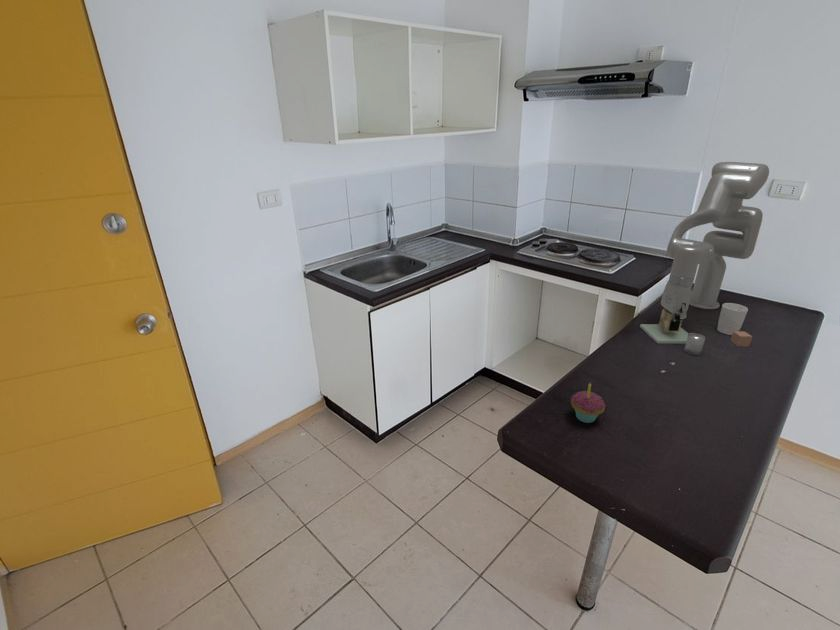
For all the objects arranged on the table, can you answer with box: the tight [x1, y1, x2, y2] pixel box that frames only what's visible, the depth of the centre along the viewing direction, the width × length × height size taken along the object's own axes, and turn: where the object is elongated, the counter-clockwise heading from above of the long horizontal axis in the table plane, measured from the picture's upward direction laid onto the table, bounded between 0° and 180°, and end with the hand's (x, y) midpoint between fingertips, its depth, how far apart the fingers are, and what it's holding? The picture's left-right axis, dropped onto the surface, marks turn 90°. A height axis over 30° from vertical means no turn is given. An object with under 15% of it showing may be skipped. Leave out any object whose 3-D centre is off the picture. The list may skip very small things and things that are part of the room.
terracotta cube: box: [730, 330, 753, 348], centre depth 155 cm, size 4×4×4 cm
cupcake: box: [570, 382, 606, 424], centre depth 115 cm, size 9×8×12 cm
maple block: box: [658, 308, 683, 332], centre depth 160 cm, size 5×5×7 cm
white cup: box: [716, 302, 749, 336], centre depth 163 cm, size 8×8×10 cm
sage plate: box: [639, 323, 689, 345], centre depth 163 cm, size 14×14×1 cm
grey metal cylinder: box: [683, 332, 706, 356], centre depth 150 cm, size 5×5×6 cm
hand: (669, 326), depth 162 cm, fingers closed on maple block, 4 cm apart
